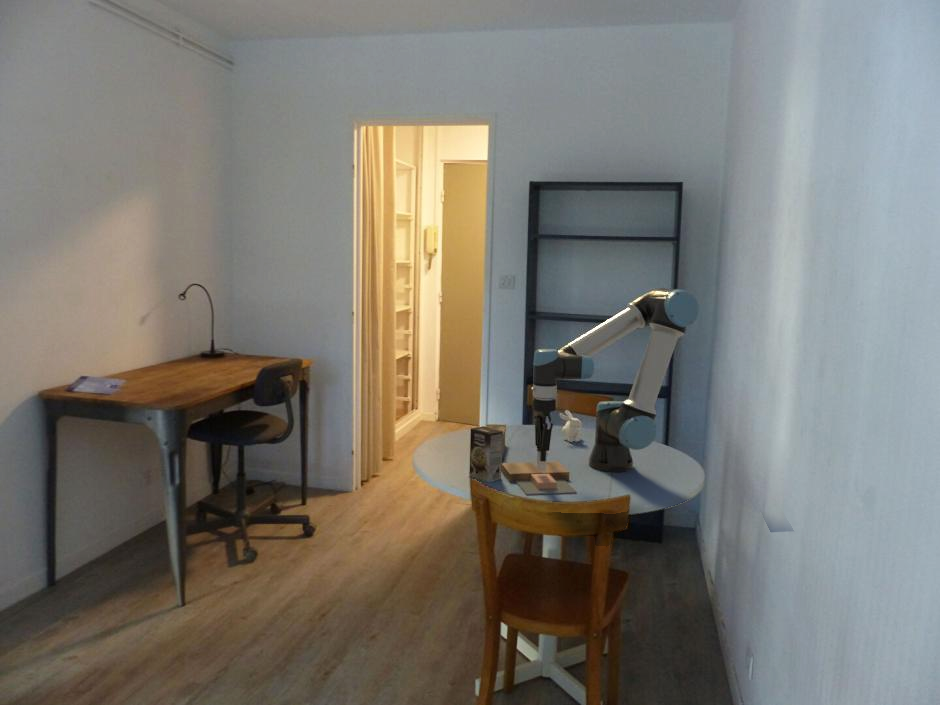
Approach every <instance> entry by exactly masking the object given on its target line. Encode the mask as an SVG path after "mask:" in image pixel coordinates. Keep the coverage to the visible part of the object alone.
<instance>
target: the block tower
mask: <svg viewBox="0 0 940 705" xmlns="http://www.w3.org/2000/svg"><path fill="white" fill-rule="evenodd" d="M506 426H507V425H506V424H503V423H502V424H498V423H494V424H493V423H486V426H485V427H488V428H492V429H496V430H499V431H503V443H502V459H503V457H504V452H505V449H506V448H505V447H506V431H507V427H506Z"/></svg>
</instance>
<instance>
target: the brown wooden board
mask: <svg viewBox="0 0 940 705" xmlns="http://www.w3.org/2000/svg"><path fill="white" fill-rule="evenodd" d="M501 473H502V474H503V476H504V477H505V478H506V479H507V480H508V482H510V483H511V482H513V483H515V482H516V481H524V480H531V474H550V476H551V477H552V478H553V479H554V480H556V479H564V480H565V481H569V480H570V471H569V470H568V469H567V468H566V467H564V466H563V465H562V464H561V463H560V462H559V461H546V471H538V470H537V461H535V462H506V463H505V462H502V464H501Z"/></svg>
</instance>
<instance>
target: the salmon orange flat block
mask: <svg viewBox="0 0 940 705" xmlns="http://www.w3.org/2000/svg"><path fill="white" fill-rule="evenodd" d="M531 481H532V482H533V484H534V485H535V486H536V487H537V488H538V489H555V488H557V482H556V481H555V480H554V479H553V478H552V477H551V476H550V474H531Z"/></svg>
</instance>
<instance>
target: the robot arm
mask: <svg viewBox="0 0 940 705" xmlns="http://www.w3.org/2000/svg"><path fill="white" fill-rule="evenodd" d="M699 313H700V306H699V303H698V300H697V298H696V297H695V295H693V293H691V292H690V291H687V290H684V289H680V288H674V289H673V288H664V287H663V288H659V287H658V288H655V289H652V290H649V291H647V292H646V293H644V294H643V295H640V296H639V297H638V298H636V299H634V300H632V301H631V302H629V303H628V304H626V309H624V310H622V311H620V312H619V313H617V314H616V315H614V316H612V317H610V318H608V319H607V320H605V321H604V322H602V323H600V324H599V325H596V327H594V328H592V329H591V330H588V331H587V332H586V333H584V334H582V335H581V336H580V337H579V336H578V337H577V338H576V339H575V340H573V341H571V342H569V343H568V344H566V345H564V346H563V347H561V348H557V349H556V348H555V349H554V348H553V349H549V348H540V349H536V350H535V351H534V356H533V362H532V365H533V368H532V369H533V374H532V376H533V378H532V381H533V382H532V387H531V388H530V389H531V391H532V397H533V398H531V400H532V401H531V409H532V410H533V411H534V412H536V415H534V416H533V418H534V436H535V437H534V438H535V439H534V441H535V446H536V451H537V452H536V462H537V470H538V471H546V462H547V458H548V457H547V455H548V453H547V452H549V451H550V449H551V448H550V445H551V441H552V430H553V427H554V424H553V422H552V417H551V413H552V412H554V411H556V408H557V400H556V397H557V396H558V395H557V393H558V392H557V390H558V382H557V381H558V380H587V379H591V378H592V377H593V375H594V372H595V362H594V359H593V358H592V356H593V355H595V354H597V353H599V352H600V351H602V350H603V349H605V348H607V347H608V346H611V344H613V343H614V342H617V341H618V340H620V339H621V338H622V337H623V338H624V336H626V335H628V334H629V333H631V332H633V331H634V330H636V329H637V328H640V329H644V328H645V327H646V326H648V325H649V326H650V328H651V332H650V334H649V335H650V336H649V339H648V340H647V341H648V342H647V343H646V344H647V345H646V347H645V349H644V353H643V356H642V358H641V361H640V364H639V368H638V370H637V373H636V376H635V378H634V382H633V384H632V388H631V390H630V393H629V396H628V398H627V399H625V400H624V401H623V400H622V401H619V400H618V401H617V400H615V401H614V400H610V401H609V400H606V401H599V402H598V403H597V405H596V410H595V413H596V414H595V416H596V417H595V435H594V436H595V437H594V438H595V439H594V444H593V448H592V450H591V453H590V456H589V459H588V465H589V466H590V467H591V468H592V469H596V470H599V471H603V472H604V471H605V472H611V473H612V472H614V473H617V472H618V473H620V472H623V473H624V472H628V471H631V470H632V469H633V468H634V461H633V457H632V453H631V450H635V451H636V450H637V451H639V450H643V449H645V448H647V447H649V446H650V445H652V443H654V441H655V439H656V436H657V433H658V432H657V431H658V428H657V426H656V423H655V419H656V416H657V411H656V409H655V404H656V402H657V400H658V397H659V396H658V395H659V393H660V390H661V388H662V384H663V381H664V379H665V375H666V372H667V370H668V367H669V365H670V361H671V358H672V355H673V353H674V351H675V346H676V344H677V341H678V339H679V338H681V337H683V336H684V335H685V333H686V330H687V328H688V327H689V326H691V325H692V324H694V323H695V322H696V320H697V319H698V316H699ZM551 422H552V423H551ZM630 449H631V450H630Z"/></svg>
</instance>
